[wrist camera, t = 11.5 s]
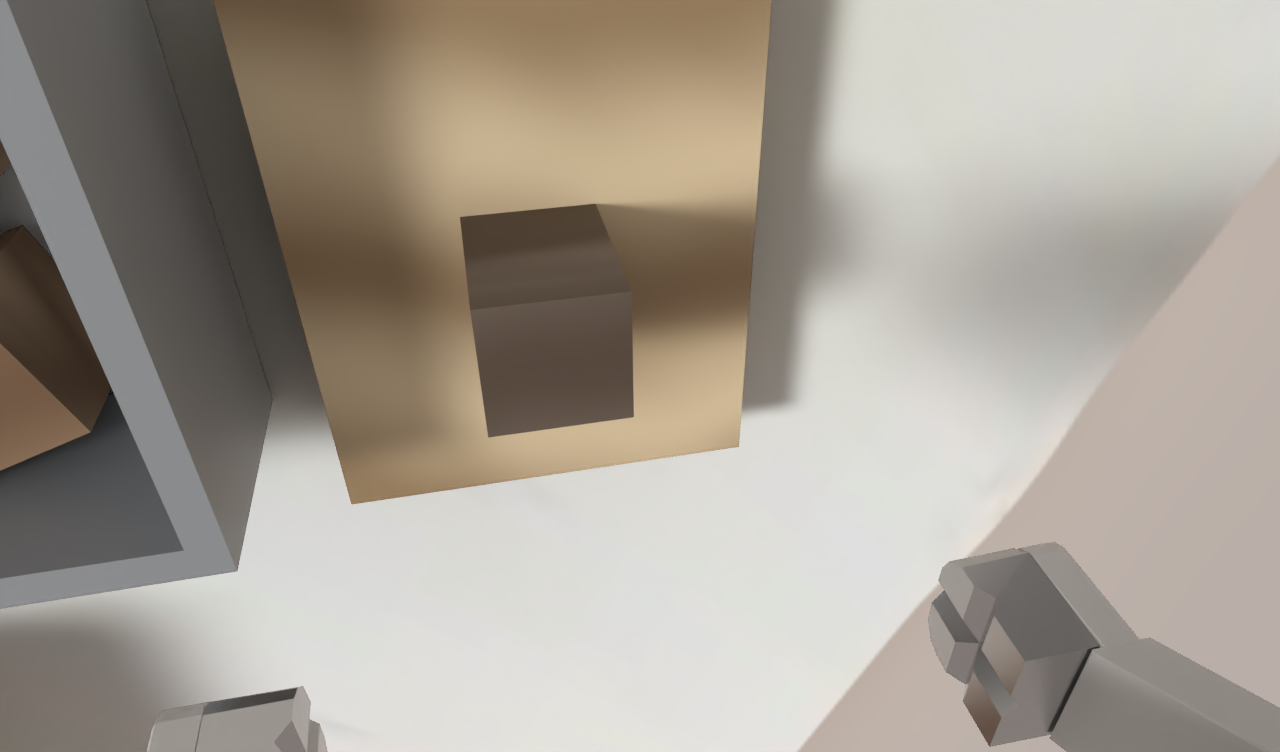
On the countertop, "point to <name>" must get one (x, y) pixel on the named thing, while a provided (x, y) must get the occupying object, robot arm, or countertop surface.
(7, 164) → the block
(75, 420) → the block
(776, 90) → the countertop surface
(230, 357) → the box
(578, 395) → the lid
